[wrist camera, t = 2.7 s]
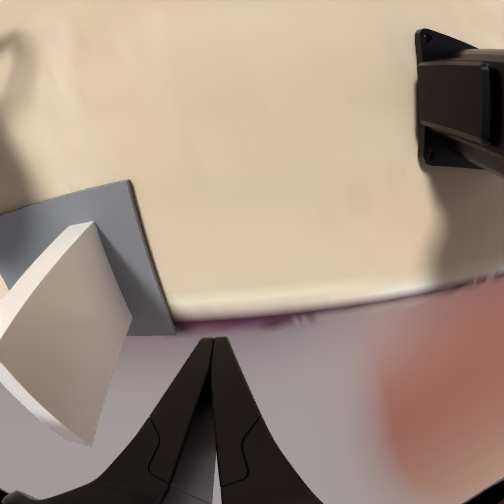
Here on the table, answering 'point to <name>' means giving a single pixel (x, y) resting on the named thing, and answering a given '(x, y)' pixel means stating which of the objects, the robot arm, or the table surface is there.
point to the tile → (64, 333)
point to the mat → (113, 240)
